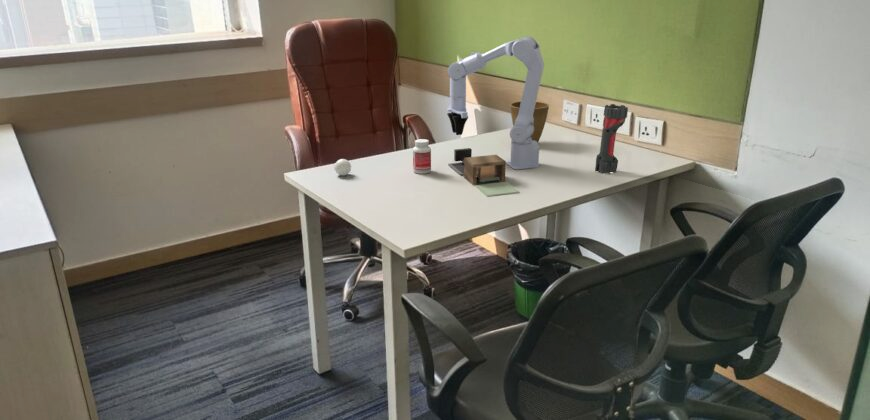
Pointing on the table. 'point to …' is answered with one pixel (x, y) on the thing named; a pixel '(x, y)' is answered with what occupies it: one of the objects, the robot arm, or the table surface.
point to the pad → (497, 189)
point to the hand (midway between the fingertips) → (457, 133)
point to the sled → (482, 172)
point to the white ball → (342, 167)
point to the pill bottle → (422, 157)
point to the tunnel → (481, 161)
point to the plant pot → (538, 116)
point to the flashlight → (610, 137)
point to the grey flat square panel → (458, 167)
